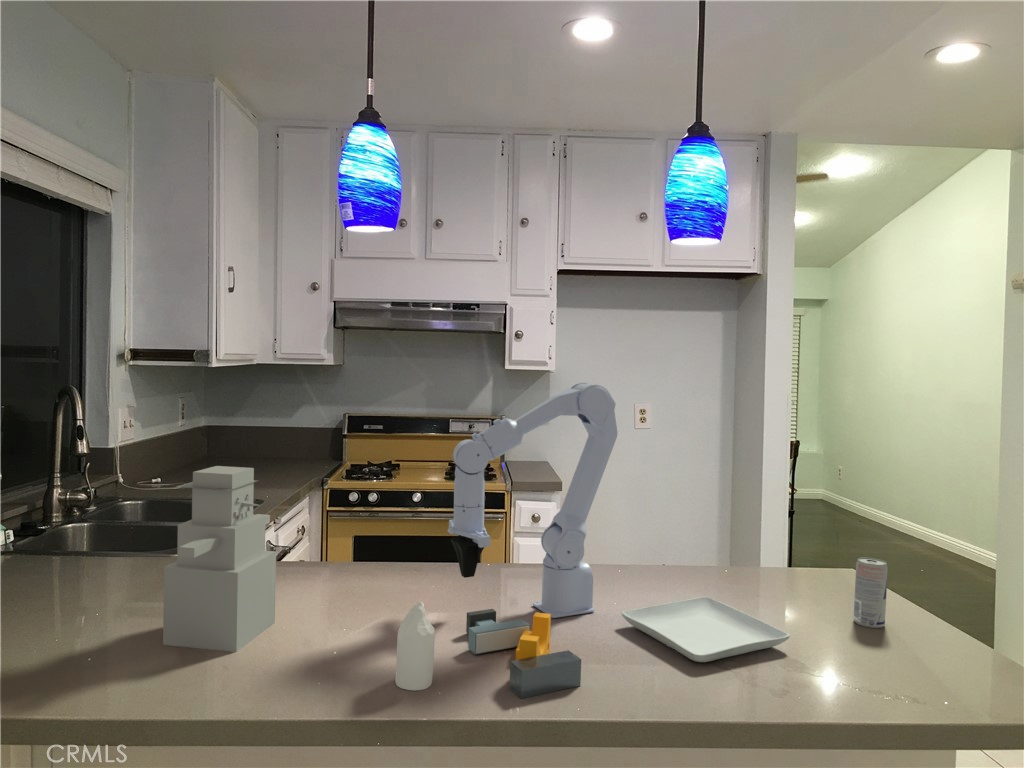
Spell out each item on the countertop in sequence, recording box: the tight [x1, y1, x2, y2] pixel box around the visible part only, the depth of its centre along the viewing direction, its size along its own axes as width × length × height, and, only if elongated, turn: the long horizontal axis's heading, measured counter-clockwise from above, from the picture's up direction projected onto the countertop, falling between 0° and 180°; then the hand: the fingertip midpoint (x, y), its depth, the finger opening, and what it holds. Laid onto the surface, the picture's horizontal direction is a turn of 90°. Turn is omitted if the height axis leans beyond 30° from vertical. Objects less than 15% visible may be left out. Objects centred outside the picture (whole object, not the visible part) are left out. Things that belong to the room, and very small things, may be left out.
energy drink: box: [853, 556, 889, 629], centre depth 137 cm, size 5×5×12 cm
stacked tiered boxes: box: [162, 465, 277, 653], centre depth 122 cm, size 13×24×28 cm, turn 171°
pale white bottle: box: [395, 601, 436, 691], centre depth 107 cm, size 6×12×6 cm
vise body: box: [509, 650, 582, 699], centre depth 107 cm, size 10×4×4 cm, turn 117°
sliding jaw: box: [465, 608, 531, 655], centre depth 123 cm, size 10×10×4 cm
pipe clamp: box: [515, 611, 552, 660], centre depth 114 cm, size 12×4×6 cm, turn 167°
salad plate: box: [620, 595, 791, 663], centre depth 127 cm, size 21×21×3 cm
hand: (467, 576), depth 135 cm, fingers closed
